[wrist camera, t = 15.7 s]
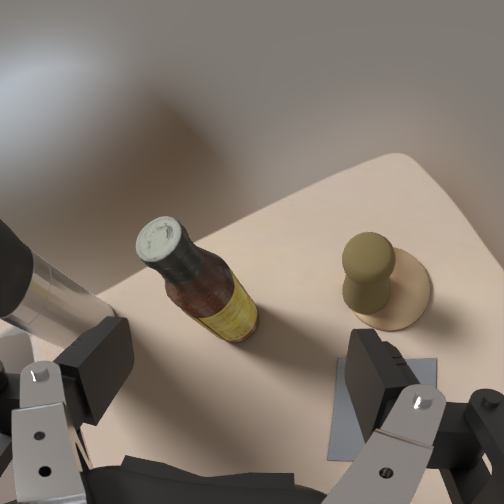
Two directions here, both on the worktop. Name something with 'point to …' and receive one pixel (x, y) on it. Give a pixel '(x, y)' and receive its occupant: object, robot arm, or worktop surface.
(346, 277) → the pepper shaker
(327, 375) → the worktop surface
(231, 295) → the sauce bottle
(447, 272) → the worktop surface
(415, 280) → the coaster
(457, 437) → the robot arm
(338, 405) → the tile
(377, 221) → the worktop surface
